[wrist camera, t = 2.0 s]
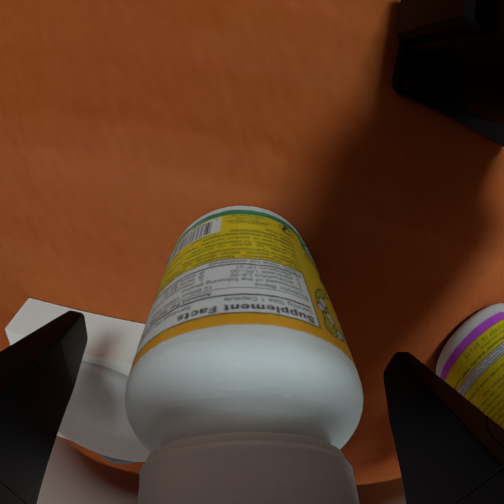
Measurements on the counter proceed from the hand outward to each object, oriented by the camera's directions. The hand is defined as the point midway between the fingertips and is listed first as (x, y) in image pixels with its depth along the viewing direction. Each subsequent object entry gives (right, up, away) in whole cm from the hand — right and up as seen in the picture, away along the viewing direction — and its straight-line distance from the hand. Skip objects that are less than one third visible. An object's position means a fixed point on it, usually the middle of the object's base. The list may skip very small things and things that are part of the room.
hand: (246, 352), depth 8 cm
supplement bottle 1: (0, +2, +4) cm, 5 cm away
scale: (-7, -4, +7) cm, 11 cm away
